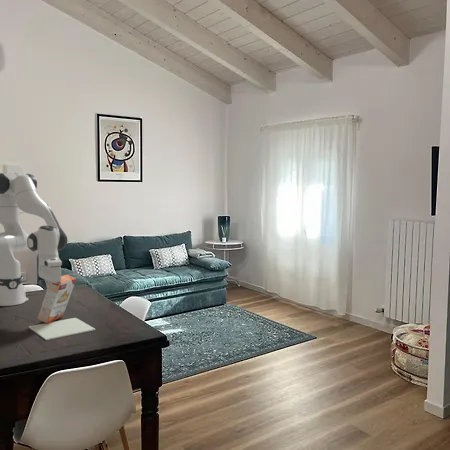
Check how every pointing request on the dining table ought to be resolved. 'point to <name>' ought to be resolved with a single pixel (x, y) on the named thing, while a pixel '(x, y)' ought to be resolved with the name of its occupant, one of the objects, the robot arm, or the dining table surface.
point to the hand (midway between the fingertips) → (49, 289)
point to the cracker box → (56, 299)
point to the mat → (61, 328)
